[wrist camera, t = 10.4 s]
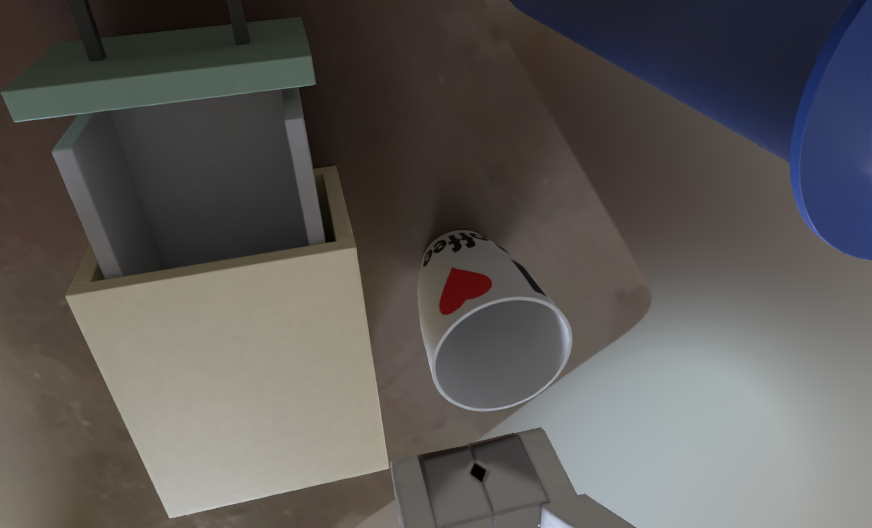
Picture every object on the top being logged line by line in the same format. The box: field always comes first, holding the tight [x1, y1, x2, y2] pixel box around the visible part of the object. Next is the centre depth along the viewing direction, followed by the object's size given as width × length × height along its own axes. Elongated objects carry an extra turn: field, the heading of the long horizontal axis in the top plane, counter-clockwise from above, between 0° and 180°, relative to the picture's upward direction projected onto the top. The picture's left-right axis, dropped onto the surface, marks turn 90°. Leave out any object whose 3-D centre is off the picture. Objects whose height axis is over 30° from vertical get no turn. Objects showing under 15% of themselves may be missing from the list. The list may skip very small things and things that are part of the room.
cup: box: [418, 230, 572, 411], centre depth 39 cm, size 8×8×10 cm
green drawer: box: [1, 0, 326, 280], centre depth 30 cm, size 19×12×8 cm, turn 3°
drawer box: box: [65, 166, 389, 518], centre depth 36 cm, size 16×13×10 cm
